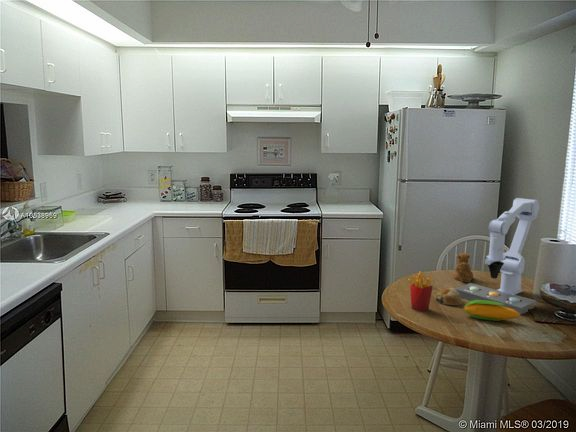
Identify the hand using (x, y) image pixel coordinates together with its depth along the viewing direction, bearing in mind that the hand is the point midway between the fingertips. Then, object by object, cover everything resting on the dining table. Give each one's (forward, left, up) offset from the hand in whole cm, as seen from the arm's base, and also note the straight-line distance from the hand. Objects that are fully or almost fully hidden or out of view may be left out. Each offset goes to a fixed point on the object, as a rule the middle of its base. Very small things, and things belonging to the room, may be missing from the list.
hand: (494, 277), depth 207 cm
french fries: (+37, -13, -10) cm, 40 cm away
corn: (+24, +12, -10) cm, 28 cm away
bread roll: (+20, -9, -10) cm, 24 cm away
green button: (+3, -7, -9) cm, 12 cm away
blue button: (+3, +11, -9) cm, 14 cm away
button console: (+3, +2, -9) cm, 10 cm away
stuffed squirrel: (-15, -23, -10) cm, 29 cm away
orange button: (+3, +2, -9) cm, 9 cm away
